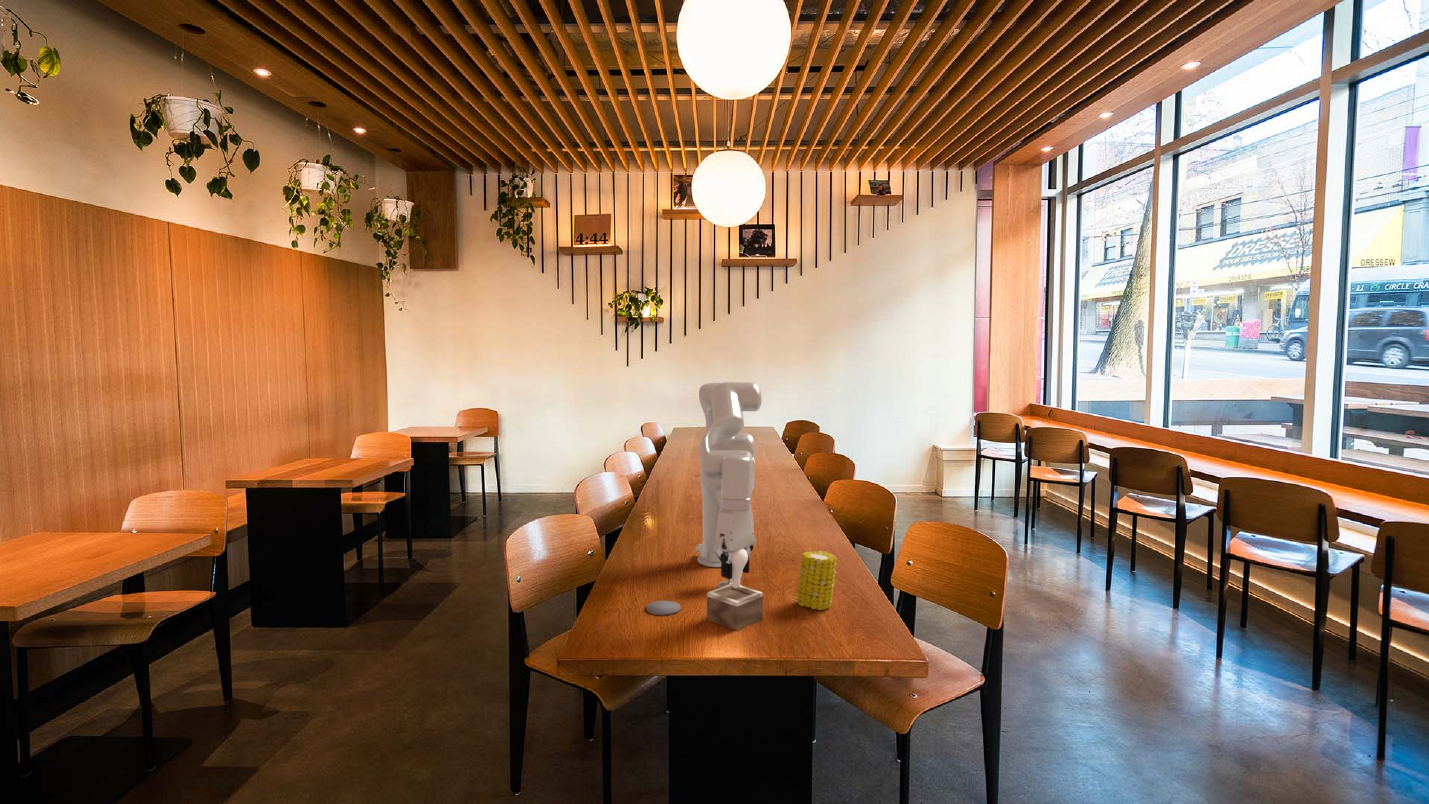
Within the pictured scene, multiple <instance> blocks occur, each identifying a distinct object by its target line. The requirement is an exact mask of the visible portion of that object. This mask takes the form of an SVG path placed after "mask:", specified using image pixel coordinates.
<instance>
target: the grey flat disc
mask: <svg viewBox="0 0 1429 804" xmlns="http://www.w3.org/2000/svg"><path fill="white" fill-rule="evenodd" d="M645 610H646V612H647V613H648V614H651V615H653V616H661V617H664V616H671V615H675V614H677V613H679V612H680V611H681V604H679V602H676V601H672V600H657V601H656V600H655V601H651V602H649V603H648V604H646V606H645Z"/></svg>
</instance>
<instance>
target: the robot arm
mask: <svg viewBox="0 0 1429 804" xmlns="http://www.w3.org/2000/svg"><path fill="white" fill-rule="evenodd" d="M698 391H699V392H698V399H699V403H700V406H701V409H702V411H703V414H704V418H705V432H704V433H703V435H702V437H701V439H700V442H699V447H698V448H699V467H700V472H701V473H700V476H699V477H700V478H699V479H700V486H701V495H702V543H699V544H697V546H696V547H695V551H696V552H699V556H698V557H697V563H698V564H699V565H702V566H705V567H710V568H711V567H712V568H720V576H721V578H724V579H727V580H728V579H732V563H730V562H731V558H732V554H733V551H737V550H739V549H743V548H744V549H745V550H746V551H747V555H748V560H747V563H746V565H745V566H744V568H743V571H742V573H745V574H749V573H750V557H752V551H753V549H754V547H755V545H756V543H757V541H758V539H757V538H756V536H755V531H754V530H755V529H754V528H755V527H754V515H753V510H752V492H753V490H755V489H754V487H755V483H756V482H755V481H756V479H755V477H756V475H755V474H756V442H755V438H754V436H753V435H752V434H750V433H749V432H742V431H743V429H744V426H745V420H744V413H743V412H758V411H759V410H760V408H761V406H762V402H763V401H762V400H763V399H762V392H761V389H760V386H759V385H758V384H757V383H755V382H751V381H750V382H749V381H748V382H741V381H740V382H738V381H737V382H734V381H731V382H728V381H727V382H710V383H705V384H702V385H701V386H700V387H699V390H698ZM726 548H727V550H726ZM721 550H722V551H721ZM726 552H728V555H727V557H726V555H725V554H726Z"/></svg>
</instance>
